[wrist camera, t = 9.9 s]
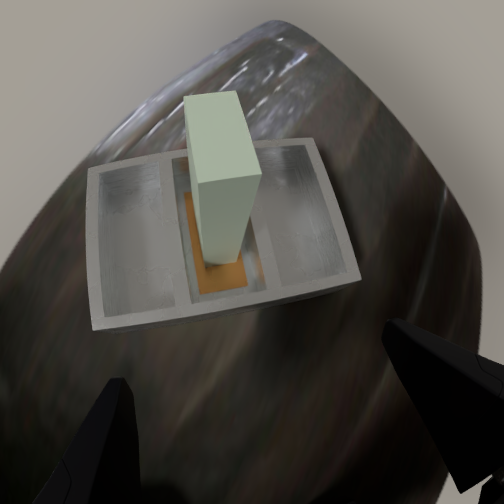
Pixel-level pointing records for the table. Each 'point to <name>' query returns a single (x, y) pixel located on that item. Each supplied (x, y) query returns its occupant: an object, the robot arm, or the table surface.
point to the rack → (188, 245)
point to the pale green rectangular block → (220, 173)
